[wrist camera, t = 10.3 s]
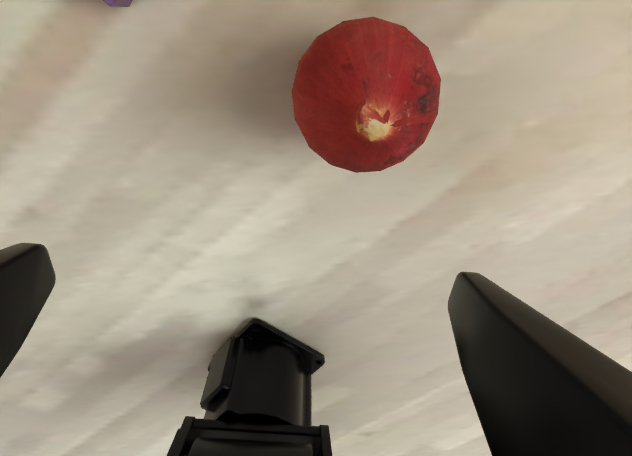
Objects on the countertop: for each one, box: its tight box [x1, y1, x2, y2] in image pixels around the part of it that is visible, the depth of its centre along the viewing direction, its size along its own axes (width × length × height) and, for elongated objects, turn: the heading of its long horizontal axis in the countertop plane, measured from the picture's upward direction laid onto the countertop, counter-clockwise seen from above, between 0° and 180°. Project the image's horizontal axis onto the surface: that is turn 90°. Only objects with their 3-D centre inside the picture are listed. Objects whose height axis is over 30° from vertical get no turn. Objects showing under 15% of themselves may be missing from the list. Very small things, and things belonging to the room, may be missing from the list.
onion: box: [292, 17, 441, 172], centre depth 15 cm, size 6×6×8 cm
